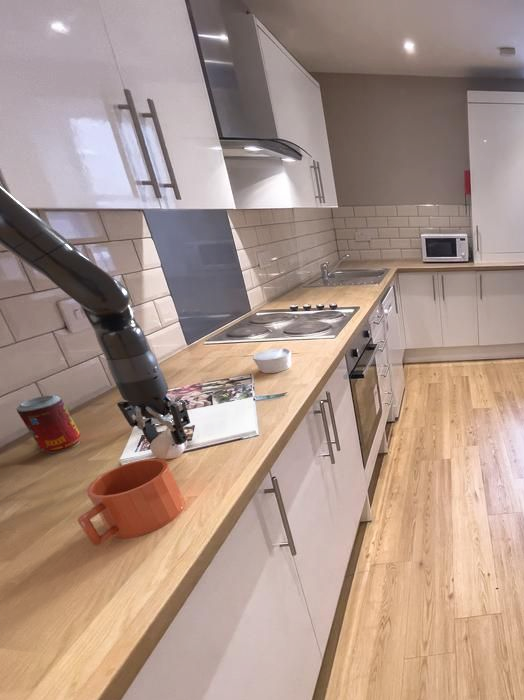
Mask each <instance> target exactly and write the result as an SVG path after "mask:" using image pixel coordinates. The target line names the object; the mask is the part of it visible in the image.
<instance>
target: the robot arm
mask: <svg viewBox="0 0 524 700" xmlns="http://www.w3.org/2000/svg"><path fill="white" fill-rule="evenodd" d="M0 246H1V247H2V248H3V249H5V250H6V251H8V252H9V253H10V254H12V255H13V256H14V257H16V258H17V259H19V260H20V261H21V262H22V263H24V264H26V266H28V267H30V268H31V269H33V270H34V271H36V272H37V273H39V274H40V275H42V276H43V277H46V278H47V279H48V280H49V281H51V282H52V283H53V285H55V286H56V287H57V288H59V290H61V291H62V292H64V293H65V294H66V295H67V296H69V297H70V298H71V299H72V300H73V301H74V302H76V303H78V304H79V306H80V308H81V310H82V311H83V313H84V316H85V317H86V319H87V321H88V322H89V324H90V326H91V327H92V330H93V331H94V332H93V333H94V335H95V338H96V341H97V344H98V345H99V348H100V350H101V352H102V354H103V356H104V358H105V361H106V363H107V367H108V370H109V372H110V375H111V377H112V378H113V381H114V383H115V385H116V388H117V389H118V391H119V393H120V395H121V397H122V399H123V400H121V401H119V402H117V403H116V405H117V407H118V408H119V410H120V412H121V413H122V415H123V416H124V419H125V421H127V423H128V425H129V426H130V427H132V428H133V427H137V428H138V429H139V430H140V431H142V433H143V435H144V438H145V439H146V441H147V442H148V444H151V442H152V441H153V440H154V439H155V438H156V437H157V436H159V435H160V434H159V432H158V429H157V427H156V425H153V418H155V419H157V420H158V421H159V422H160V423H161V424H163V425H165V426H166V427H167V428H169V429H170V430H171V431H170V432H171V435H172V437H173V439H174V441H175V444H176V445H181V444H183V443H184V442H186V440H187V441H188V436H187V434H186V432H185V430H184V427H186V426H187V425H189V424H190V423H191V420H190V417H189V412H188V408H187V406H186V401H184V400H183V399H180V400H178V401H175V400H172V399H171V398H170V397H169V396H168V394H167V392H168V390H169V385H168V383H167V380H166V378H165V376H164V373H163V371H162V368H161V366H160V364H159V361H158V359H157V357H156V355H155V354H154V353H153V350H152V349H151V347H150V344H149V342H148V339H147V337H146V335H145V333H144V331H143V329H142V327H141V326H140V324H139V323H138V322H137V321H136V318H135V316H134V314H133V311H132V307H131V306H130V303H131V297H130V293H129V292H128V289H127V288H126V287H125V286H124V284H122V283H121V282H119V281H118V280H117V279H115V278H114V277H113V276H111V275H110V274H109V273H107V272H106V271H105V270H104V269H102V268H101V267H100V266H98V265H97V264H96V263H94V262H93V261H91V260H90V259H89V258H88V257H87V256H85V255H84V254H83V253H82V252H81V250H79V249H78V248H77V247H76V246H75V245H74V244H73V243H71V242H70V241H69V240H68V239H67V238H66V237H64V236H63V235H62V234H61V233H59V232H58V231H57V230H56V229H54V228H53V227H52V226H51V225H50V224H48V223H47V222H46V221H45V220H44V219H42V218H41V217H40V216H38V215H37V214H36V213H35V212H33V210H31V209H29V207H27V206H26V205H25V204H24V203H22V202H21V201H20V200H18V199H17V198H16V197H15V196H14V195H12V194H11V193H10V192H9V191H7V190H6V189H5V188H4V187H3V186H1V185H0ZM168 413H170V416H169V417H167V418H164V416H166V415H167V414H168ZM133 416H135V419H134V417H133ZM171 419H172V420H173V421H174V423H175V424H174V425H173V424H172V423H171V422H170V420H171Z"/></svg>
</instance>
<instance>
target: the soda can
mask: <svg viewBox="0 0 524 700" xmlns="http://www.w3.org/2000/svg"><path fill="white" fill-rule="evenodd" d="M16 413H18V416H19V417H20V418H21V420H22V422H23V423H24V425H25V426H26V428H27V430H28V432H29V434H30V435H31V436H32V439H34V441H35V443H36V445H37V446H38V447H39V449H41V450H43V451H46V453H49V454H55V453H61V452H65V451H67V450H70V449H73V448H74V447H77V446H78V445H79V444H80V443H81V432H80V430H79V428H78V426H77V425H76V423H75V421H74V419H73V418H72V416H71V414H70V412H69V410H68V408H67V406H66V405H65V402H64V400H63V399H62V398H61V397H60V396H57V395H51V394H50V395H42V396H37V397H33V398H30V399H27V400H25V401H23V402H21V403H20V404H19V405H18V406H17V408H16Z"/></svg>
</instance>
